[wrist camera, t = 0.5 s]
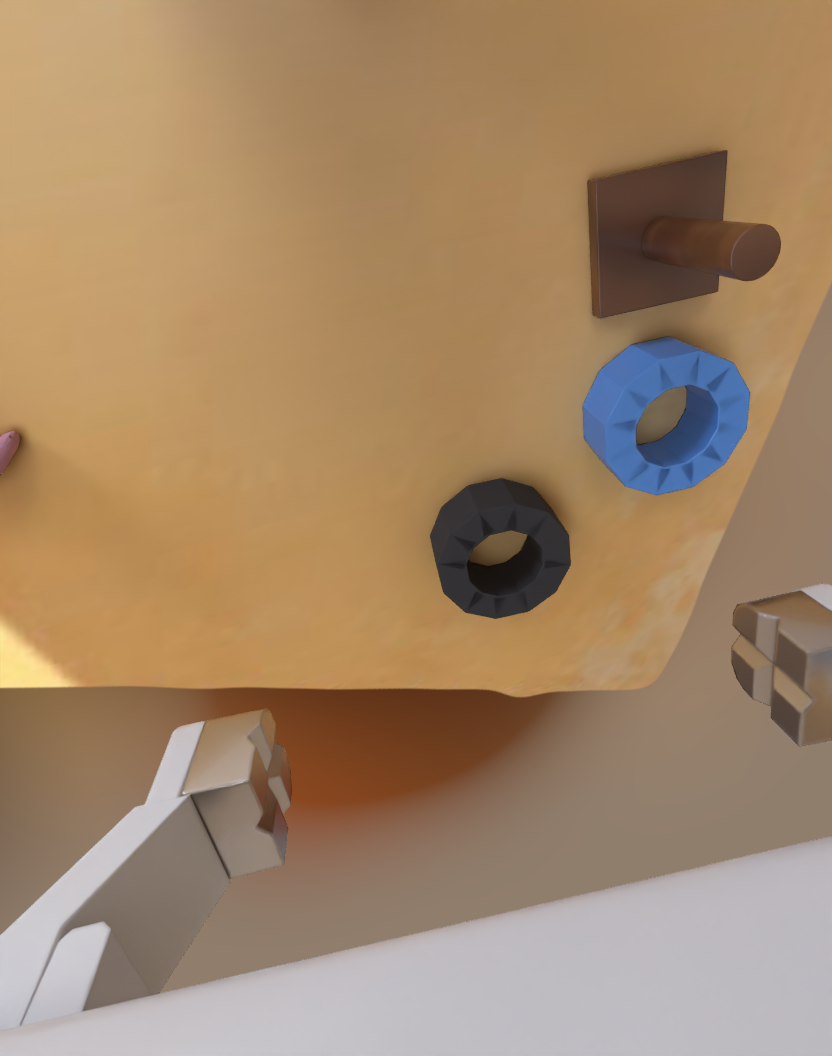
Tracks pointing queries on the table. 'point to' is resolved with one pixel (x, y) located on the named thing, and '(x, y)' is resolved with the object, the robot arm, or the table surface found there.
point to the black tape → (503, 583)
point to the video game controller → (8, 448)
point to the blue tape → (700, 432)
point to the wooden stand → (669, 236)
